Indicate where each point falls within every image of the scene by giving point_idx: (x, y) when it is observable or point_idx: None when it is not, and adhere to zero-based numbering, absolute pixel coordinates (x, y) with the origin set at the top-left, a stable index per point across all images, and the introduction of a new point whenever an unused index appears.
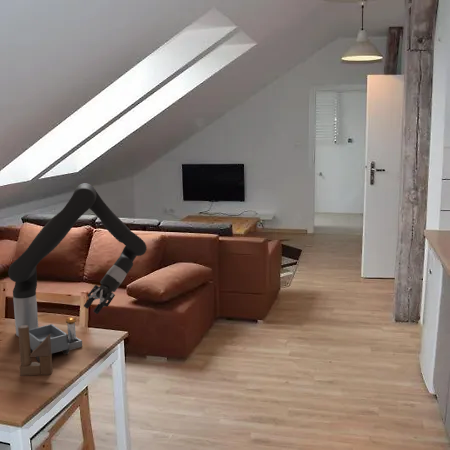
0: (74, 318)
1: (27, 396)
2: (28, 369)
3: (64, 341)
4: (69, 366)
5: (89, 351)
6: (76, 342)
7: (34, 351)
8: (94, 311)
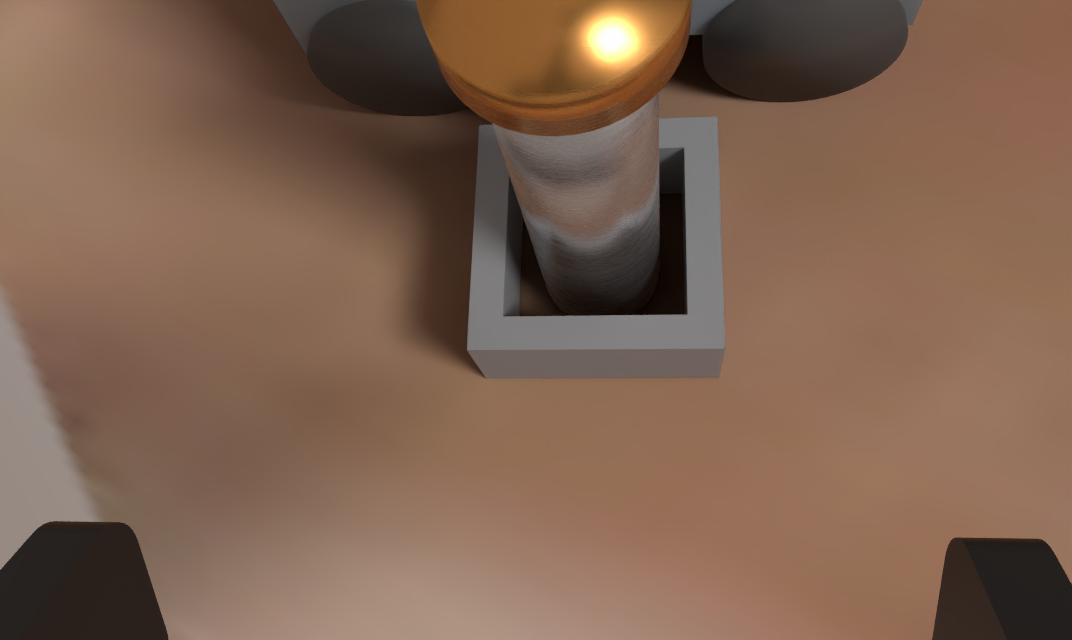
0: (500, 45)
1: None
2: None
3: None
4: (66, 5)
5: (245, 375)
6: (474, 254)
7: None
8: (52, 532)
